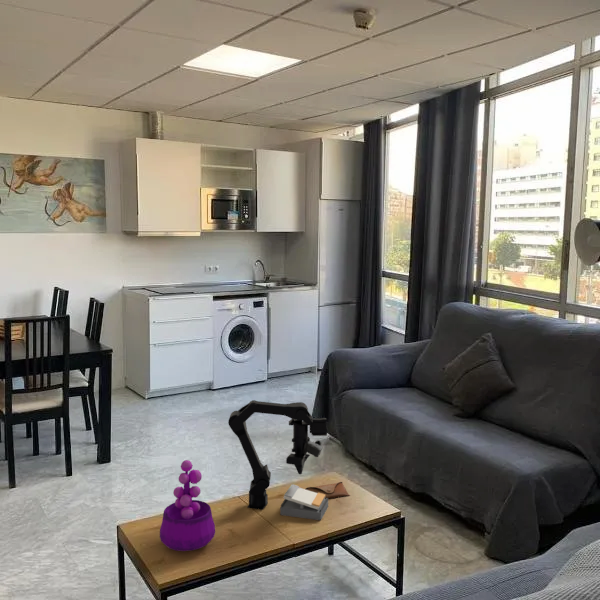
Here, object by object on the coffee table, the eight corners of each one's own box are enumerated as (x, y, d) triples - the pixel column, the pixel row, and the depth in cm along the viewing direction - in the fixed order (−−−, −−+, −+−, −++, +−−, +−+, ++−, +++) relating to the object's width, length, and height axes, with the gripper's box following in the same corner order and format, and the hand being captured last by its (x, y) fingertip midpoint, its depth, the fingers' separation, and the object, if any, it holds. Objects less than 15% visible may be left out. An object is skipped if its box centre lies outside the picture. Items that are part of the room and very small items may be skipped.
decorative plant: (191, 526, 222) (189, 447, 219) (226, 542, 210) (225, 459, 207) (148, 546, 208) (146, 461, 204) (184, 564, 196) (182, 475, 193)
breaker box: (280, 514, 231) (280, 503, 231) (289, 501, 243) (289, 490, 242) (321, 520, 227) (321, 508, 226) (328, 506, 238) (328, 495, 238)
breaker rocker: (283, 498, 231) (284, 494, 231) (291, 487, 241) (292, 483, 241) (318, 509, 227) (319, 505, 227) (324, 498, 238) (325, 494, 237)
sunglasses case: (312, 503, 241) (308, 486, 244) (305, 505, 247) (302, 489, 250) (351, 495, 249) (348, 479, 251) (344, 498, 254) (341, 482, 257)
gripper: (314, 445, 225) (314, 485, 227) (326, 430, 243) (325, 467, 245) (285, 442, 228) (285, 482, 230) (299, 427, 246) (299, 464, 248)
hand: (300, 474), depth 238 cm, fingers closed
